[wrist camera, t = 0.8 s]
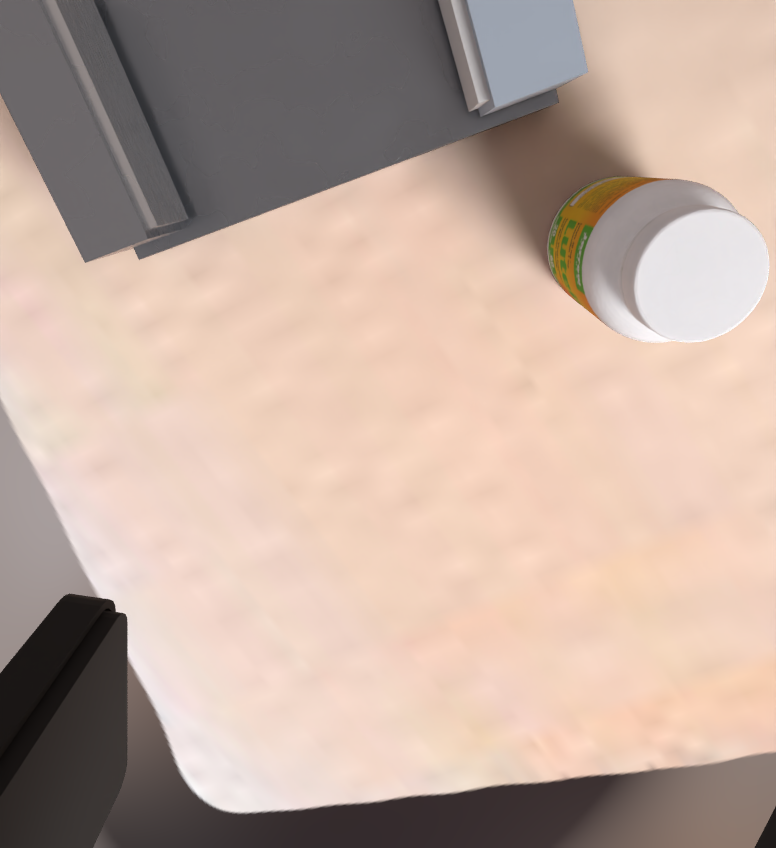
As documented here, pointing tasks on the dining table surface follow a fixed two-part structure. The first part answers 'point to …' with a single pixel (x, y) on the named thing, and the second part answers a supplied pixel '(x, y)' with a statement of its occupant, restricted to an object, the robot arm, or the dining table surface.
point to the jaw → (512, 49)
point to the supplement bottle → (658, 258)
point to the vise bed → (223, 106)
